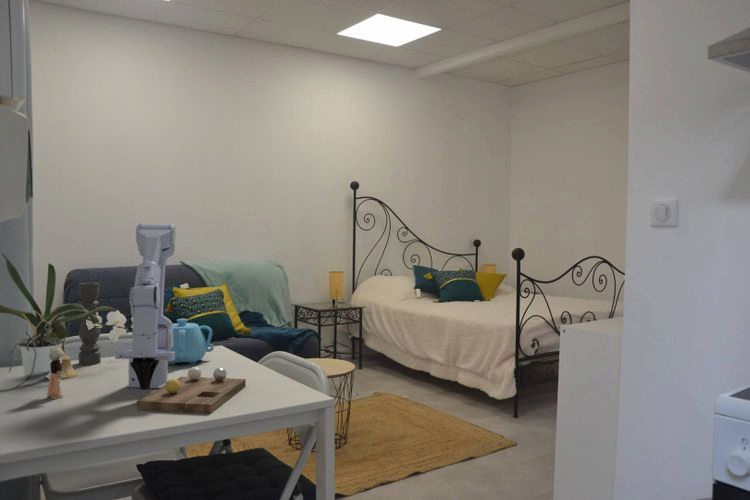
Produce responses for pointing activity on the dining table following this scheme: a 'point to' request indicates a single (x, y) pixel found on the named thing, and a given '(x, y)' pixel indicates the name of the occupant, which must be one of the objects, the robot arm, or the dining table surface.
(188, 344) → the decorative pot
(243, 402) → the dining table surface
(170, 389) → the ball
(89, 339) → the candle holder
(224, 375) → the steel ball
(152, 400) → the hole plate
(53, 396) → the grandmother figurine
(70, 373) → the hand bell
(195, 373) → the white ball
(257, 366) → the dining table surface
